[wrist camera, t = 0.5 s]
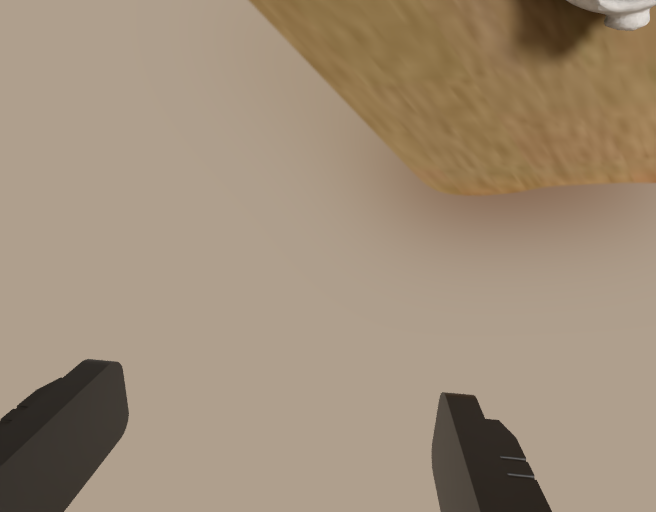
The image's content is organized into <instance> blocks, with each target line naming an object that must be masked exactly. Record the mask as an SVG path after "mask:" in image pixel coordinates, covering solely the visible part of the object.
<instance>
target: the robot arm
mask: <svg viewBox="0 0 656 512" xmlns="http://www.w3.org/2000/svg"><path fill="white" fill-rule="evenodd" d="M128 414H129V412H128V404H127V397H126V390H125V382H124V375H123V369H122V366H121V364H120V363H119V362H114V361H103V360H92V359H87V360H84V361H82V362H81V363H80V364H79V365H78V366H76V367H75V368H74V369H73V370H72V371H70V372H69V373H68V374H67V375H66V376H64V377H63V378H59V379H57V380H55V381H53V382H51V383H49V384H47V385H45V386H43V387H41V388H39V389H38V390H36V391H35V392H34V393H32V394H31V395H30V396H29V397H27V398H26V399H25V400H24V401H22V402H21V403H20V404H19V405H17V408H16V409H12V410H11V411H10V412H9V413H7V414H6V415H5V416H4V417H3V418H2V419H1V421H0V512H64V511H65V509H66V508H67V507H68V506H69V504H70V503H71V502H72V500H73V499H74V498H75V497H76V495H77V494H78V493H79V491H80V490H81V489H82V488H83V486H84V485H85V484H86V482H87V481H88V480H89V479H90V477H91V476H92V475H93V473H94V472H95V471H96V470H97V468H98V467H99V466H100V464H101V463H102V462H103V461H104V459H105V458H106V457H107V455H108V454H109V453H110V452H111V450H112V449H113V448H114V446H115V445H116V444H117V442H118V441H119V440H120V438H121V437H122V435H123V434H124V431H125V429H126V426H127V422H128V416H129V415H128ZM432 469H433V475H434V480H435V484H436V490H437V495H438V500H439V505H440V510H441V512H552V511H551V509H550V507H549V505H548V503H547V501H546V498H545V496H544V494H543V492H542V490H541V488H540V486H539V484H538V482H537V480H535V479H534V474H533V472H532V470H531V468H530V466H529V464H528V462H526V457H525V455H524V453H523V451H522V449H521V447H520V445H519V443H518V441H517V439H516V437H515V436H514V435H513V434H512V433H511V432H510V431H509V430H508V429H507V428H506V427H505V426H504V425H503V424H502V423H501V422H500V421H499V420H491V419H485V418H484V415H483V413H482V410H481V408H480V406H479V403H478V401H477V399H476V397H475V396H474V395H466V394H455V393H441V395H440V399H439V405H438V411H437V417H436V423H435V430H434V436H433V443H432Z"/></svg>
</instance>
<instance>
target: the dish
mask: <svg viewBox="0 0 656 512" xmlns="http://www.w3.org/2000/svg"><path fill="white" fill-rule="evenodd" d="M566 1H568V2H569V3H571V4H573V5H575V6H578V7H580V8H582V9H585V10H588V11H592V12H597V13H601V14H605V15H606V17H605V20H604V24H605V26H607V27H610V28H614V29H617V30H625V31H633V30H636V29H638V28H641V27H643V26H645V25H647V23H648V22H649V21H650V14H649V10H650V8H651V7H653V6H655V5H656V0H566Z"/></svg>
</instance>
